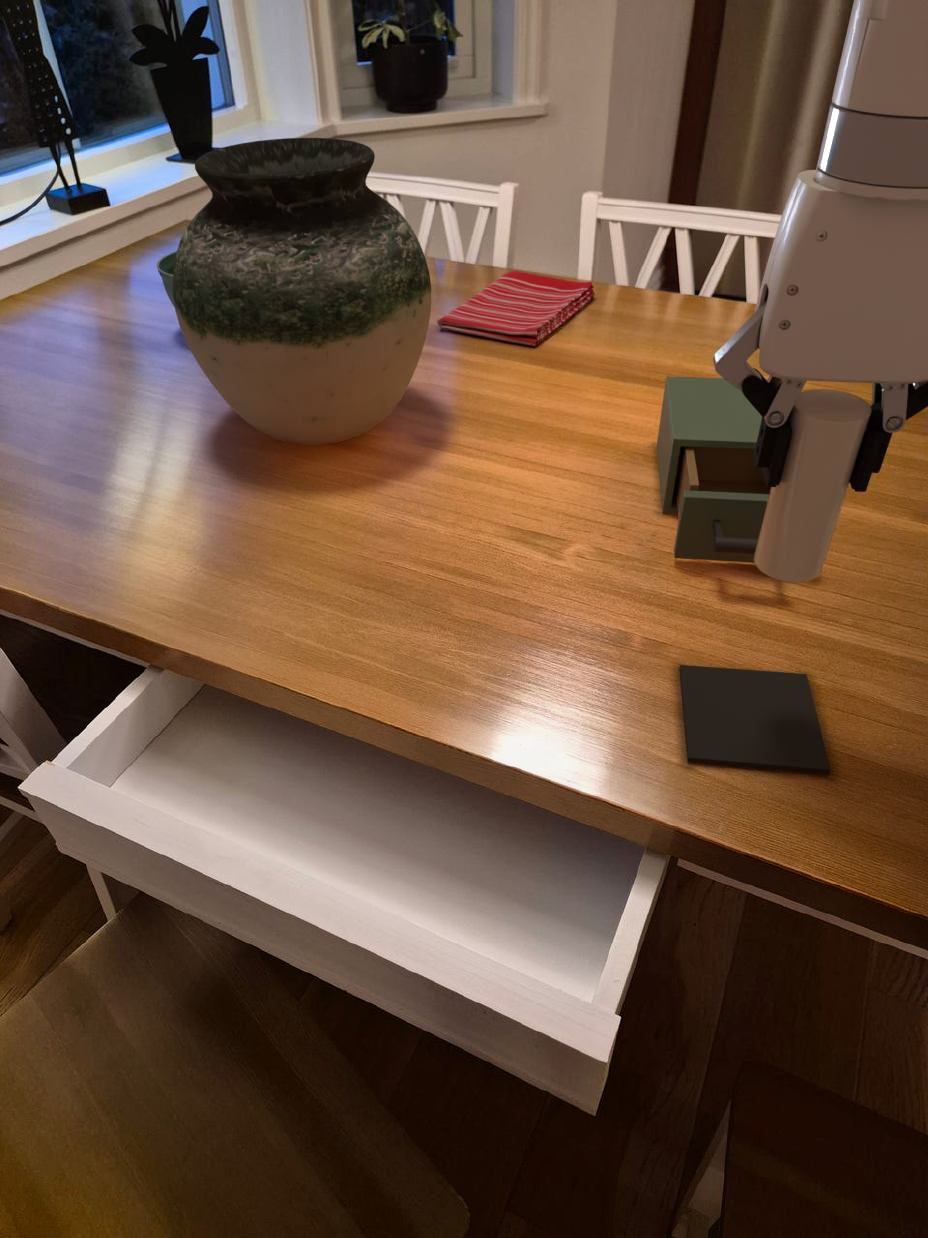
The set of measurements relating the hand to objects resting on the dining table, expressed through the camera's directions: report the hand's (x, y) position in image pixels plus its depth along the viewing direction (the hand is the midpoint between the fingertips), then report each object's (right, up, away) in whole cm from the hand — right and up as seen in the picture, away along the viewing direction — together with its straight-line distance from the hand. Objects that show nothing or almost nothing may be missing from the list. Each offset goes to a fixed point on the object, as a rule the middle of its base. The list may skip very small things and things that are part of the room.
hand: (811, 475), depth 52 cm
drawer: (+4, -1, +30) cm, 30 cm away
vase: (-39, +15, +52) cm, 67 cm away
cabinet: (+6, +6, +39) cm, 40 cm away
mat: (0, -17, +12) cm, 21 cm away
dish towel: (-13, +39, +80) cm, 90 cm away
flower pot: (-58, +35, +77) cm, 102 cm away
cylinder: (0, -5, +4) cm, 7 cm away
